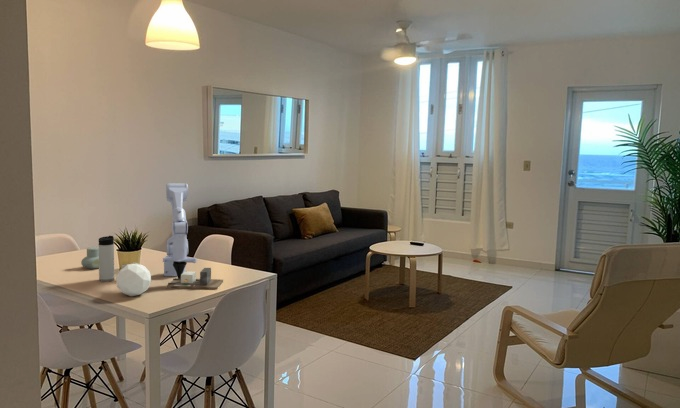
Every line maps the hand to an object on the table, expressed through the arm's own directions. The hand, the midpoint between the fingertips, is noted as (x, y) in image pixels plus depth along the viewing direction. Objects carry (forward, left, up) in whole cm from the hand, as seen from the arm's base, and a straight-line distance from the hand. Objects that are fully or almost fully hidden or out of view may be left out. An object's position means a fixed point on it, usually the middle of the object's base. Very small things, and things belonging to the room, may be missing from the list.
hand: (179, 278), depth 228 cm
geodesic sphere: (-14, -17, -3) cm, 22 cm away
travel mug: (-34, +4, -3) cm, 34 cm away
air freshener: (-50, +26, -3) cm, 56 cm away
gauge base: (+7, 0, -3) cm, 8 cm away
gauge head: (+4, -1, -2) cm, 4 cm away
